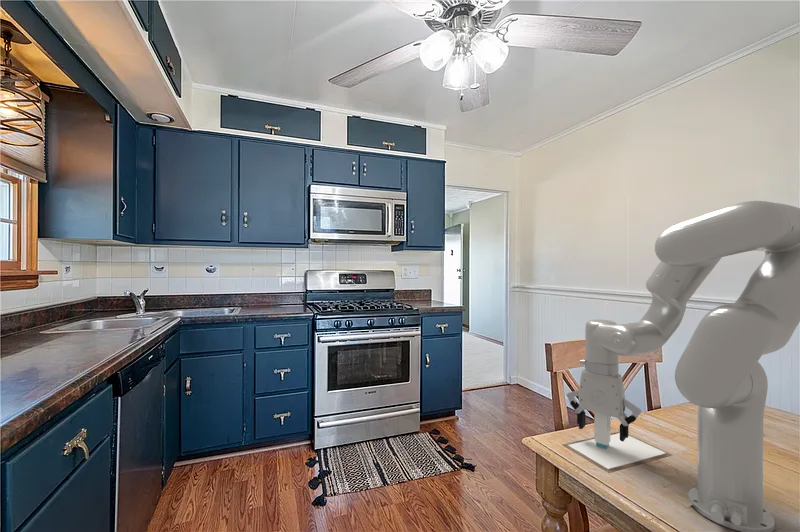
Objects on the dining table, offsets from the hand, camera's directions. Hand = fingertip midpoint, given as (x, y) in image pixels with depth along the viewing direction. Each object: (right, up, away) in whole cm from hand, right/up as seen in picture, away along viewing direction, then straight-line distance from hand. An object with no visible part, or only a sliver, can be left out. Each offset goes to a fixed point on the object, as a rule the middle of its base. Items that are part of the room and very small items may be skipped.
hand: (601, 433), depth 95 cm
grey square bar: (0, -4, +1) cm, 4 cm away
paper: (+3, -4, -1) cm, 5 cm away
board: (+3, -5, -1) cm, 6 cm away
